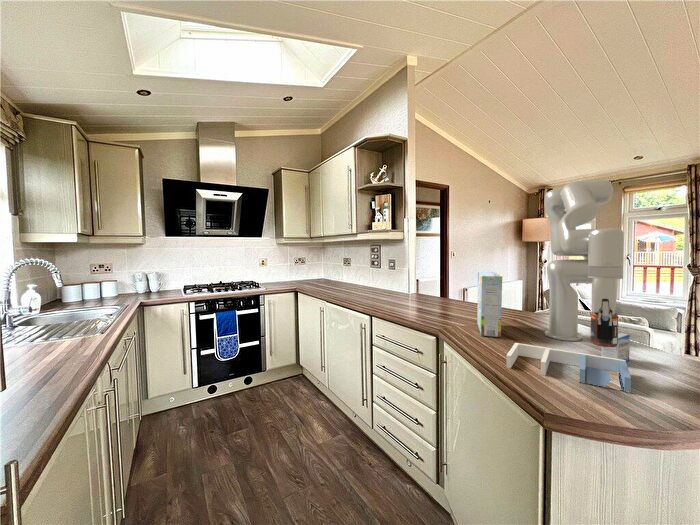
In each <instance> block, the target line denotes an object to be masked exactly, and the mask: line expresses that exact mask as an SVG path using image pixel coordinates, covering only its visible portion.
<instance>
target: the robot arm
mask: <svg viewBox="0 0 700 525" xmlns="http://www.w3.org/2000/svg"><path fill="white" fill-rule="evenodd" d="M613 196H614V187H613V185H612V183H611V181H609V180H608V179H604V178H602V179H600V178H598V179H588V180H579V181H578V180H575V181H572V182H570V183H567V184H565V185H564V186H563V187H559V188H555V189H551V190H549V191H548V192H546V193H545V195H544V198H543V199H544V200H543V202H544V203H543V204H544V205H543V206H544V210H545V212H546V215H547V218H548V221H549V228H550V230H549V232H550V234H549V235H550V250H551V253H552V254H553V255H554V256H557V257H583V259H575V258H574V259H570V258H569V259H568V258H567V259H554V260H552V261H550V262H549V263H548V264H547V266H546V272H547V279H548V287H549V289H548V290H549V291H548V292H549V297H548V298H549V307H548V309H549V311H548V312H549V313H548V314H549V315H548V316H549V318H548V319H549V320H548V321H549V322H548V323H549V327H548V329H547V330H545V331H544V335H545V336H546V337H548V338H551V339H553V340H554V339H555V340H559V341H565V342H566V341H567V342H568V341H569V342H576V341H577V342H579V341H581V340H583V334H580V333H579V329H578V328H579V327H578V326H579V318H578V317H579V295H578V292H577V291H576V289H575V288H574V287H572V285H571V284H591V313H593V314H595V312H597V313H598V324H597V338H598V339H604V340H612V331H613V326H612V315H614V314H615V313H616V307H617V299H618V298H617V295H618V293H617V292H618V280H623V279H624V252H625V251H624V249H625V248H624V247H625V246H624V240H625V233H624V231H623V229H621V228H616V227H615V228H614V227H609V228H608V227H607V228H586V229H585V228H584V229H583V228H581V229H576V228H577V227H580V226H582V225H584V224H585V225H586V224H588V223H590V222H591V221H593V220H594V219H596V218H597V216H598V215H599V213H600V206H604V205H606V204H607V203H609V202H610V201H611V200H612V198H613ZM600 311H601V312H603V313H600ZM609 312H610V314H609Z"/></svg>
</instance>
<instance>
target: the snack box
mask: <svg viewBox="0 0 700 525" xmlns="http://www.w3.org/2000/svg"><path fill="white" fill-rule="evenodd" d="M502 294H503V276H502V275H500V273H499V274H498V273H497V272H495V271H478V272H477V308H476V309H477V310H476V311H477V321H476V322H477V323H476V324H477V326H478V330H479V334H480V336H482V337H485V336H486V337H492V338H501V336H502V305H503V304H502V303H503V302H502V300H503V299H502V298H503V295H502Z"/></svg>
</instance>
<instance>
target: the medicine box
mask: <svg viewBox="0 0 700 525" xmlns="http://www.w3.org/2000/svg"><path fill="white" fill-rule="evenodd" d="M630 340H631V337H630V334H627V333H622V332H618V345H617V346H616V347H602V346H601V356H603V357H609V358H616V359H622V360H626V362H629V361H630V342H631V341H630ZM628 360H629V361H628Z"/></svg>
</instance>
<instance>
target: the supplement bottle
mask: <svg viewBox="0 0 700 525" xmlns="http://www.w3.org/2000/svg"><path fill="white" fill-rule="evenodd" d="M600 313H603V312H601V311H600ZM609 314H610V312H609ZM597 324H598V313H597V312H595V314H593V313H592V312H591V313H590V342H591V344H593V345H594V346H600V347H601V348H602V347H616V346H617V345H618V333H619V315H618V314H617V313H616V312H615V314H614V315H612V326H613V331H612V340H604V339H598V338H597Z"/></svg>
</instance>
